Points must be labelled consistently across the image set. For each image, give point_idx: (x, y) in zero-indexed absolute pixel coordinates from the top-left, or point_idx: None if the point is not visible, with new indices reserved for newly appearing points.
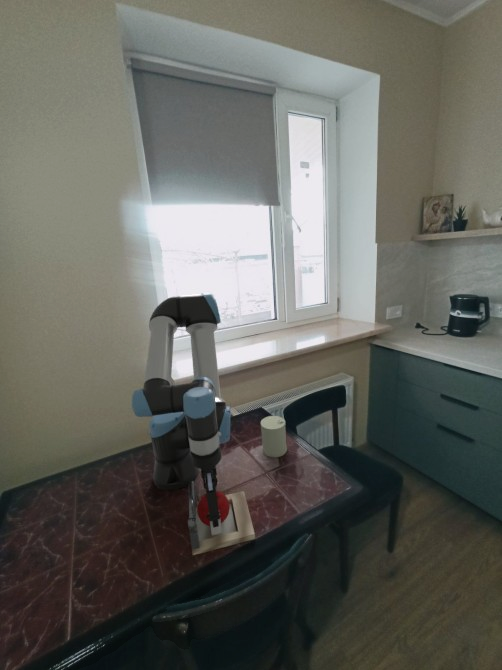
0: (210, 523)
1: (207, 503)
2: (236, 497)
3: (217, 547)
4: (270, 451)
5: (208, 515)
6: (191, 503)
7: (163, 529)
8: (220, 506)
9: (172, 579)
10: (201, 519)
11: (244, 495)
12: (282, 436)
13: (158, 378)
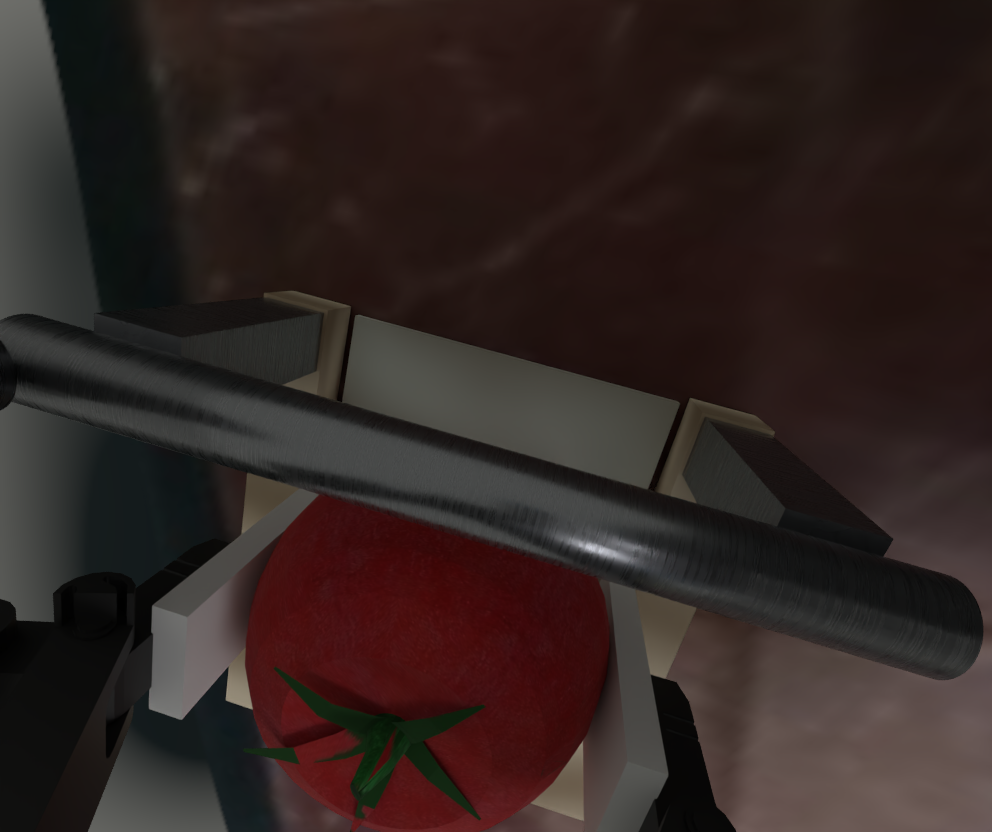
0: (235, 540)
1: (319, 668)
2: (571, 760)
3: None
4: None
5: (78, 615)
6: (413, 491)
7: (673, 88)
8: (263, 739)
9: (173, 96)
10: None
11: (552, 808)
12: None
13: None
